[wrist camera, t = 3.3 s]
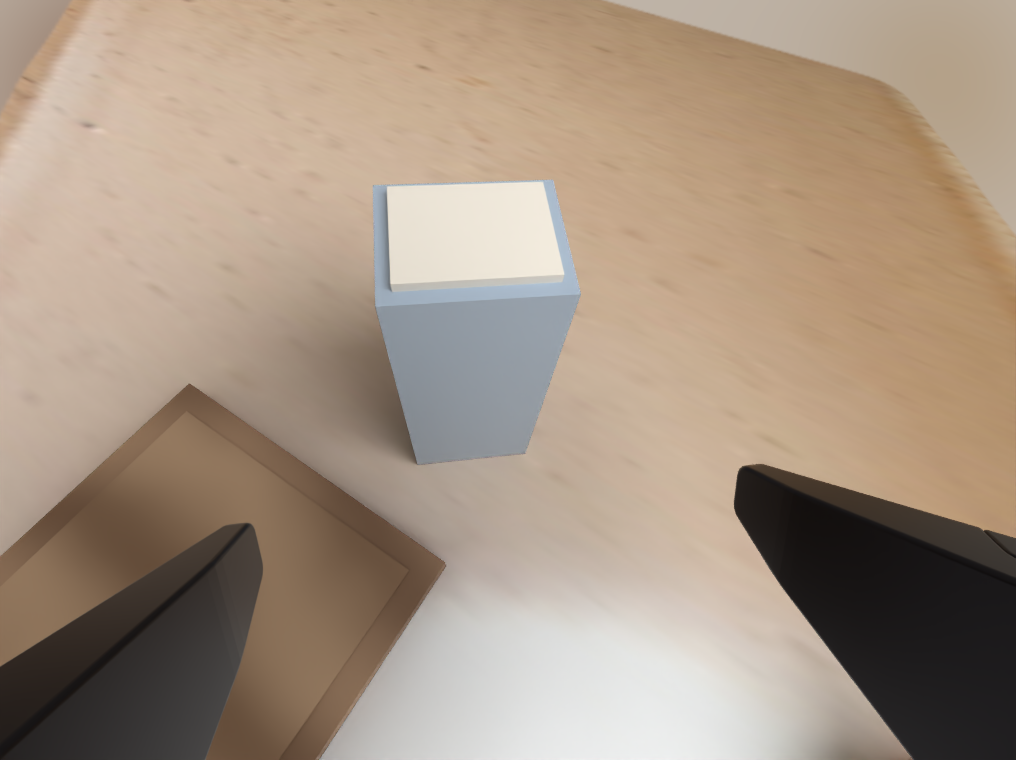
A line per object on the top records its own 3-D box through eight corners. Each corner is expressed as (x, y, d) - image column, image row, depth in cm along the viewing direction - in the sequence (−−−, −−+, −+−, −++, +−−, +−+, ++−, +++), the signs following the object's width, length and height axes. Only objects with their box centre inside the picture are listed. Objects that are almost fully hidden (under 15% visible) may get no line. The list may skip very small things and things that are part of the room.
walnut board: (173, 982, 15) (148, 1011, 14) (-115, 692, 17) (-156, 696, 16) (446, 566, 21) (444, 562, 20) (201, 394, 23) (188, 382, 22)
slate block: (524, 453, 23) (583, 286, 12) (417, 464, 23) (373, 299, 11) (513, 378, 25) (554, 171, 14) (413, 386, 24) (370, 176, 13)
